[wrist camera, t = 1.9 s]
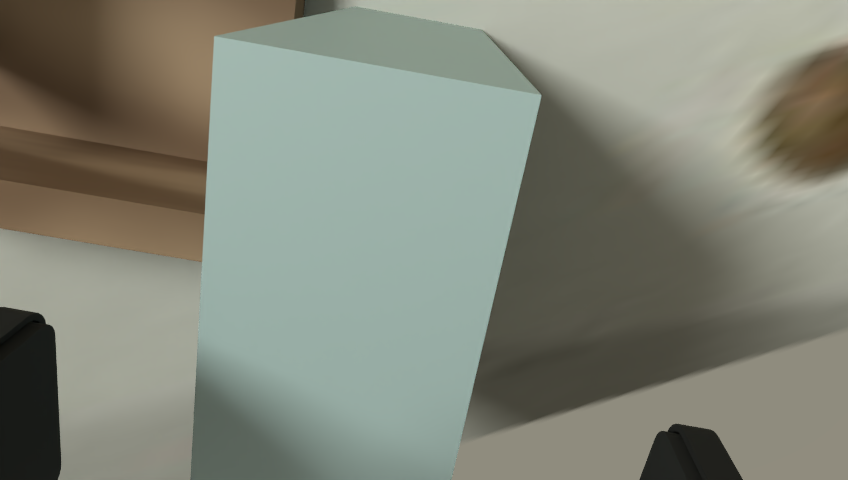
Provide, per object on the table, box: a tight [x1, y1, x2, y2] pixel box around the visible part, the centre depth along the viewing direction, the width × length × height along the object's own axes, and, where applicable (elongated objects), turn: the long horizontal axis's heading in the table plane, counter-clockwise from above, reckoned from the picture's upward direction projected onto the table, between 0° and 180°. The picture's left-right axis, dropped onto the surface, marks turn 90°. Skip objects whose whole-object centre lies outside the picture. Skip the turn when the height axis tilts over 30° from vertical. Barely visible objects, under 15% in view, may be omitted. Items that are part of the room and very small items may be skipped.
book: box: [191, 7, 542, 480], centre depth 18 cm, size 12×4×15 cm, turn 170°
